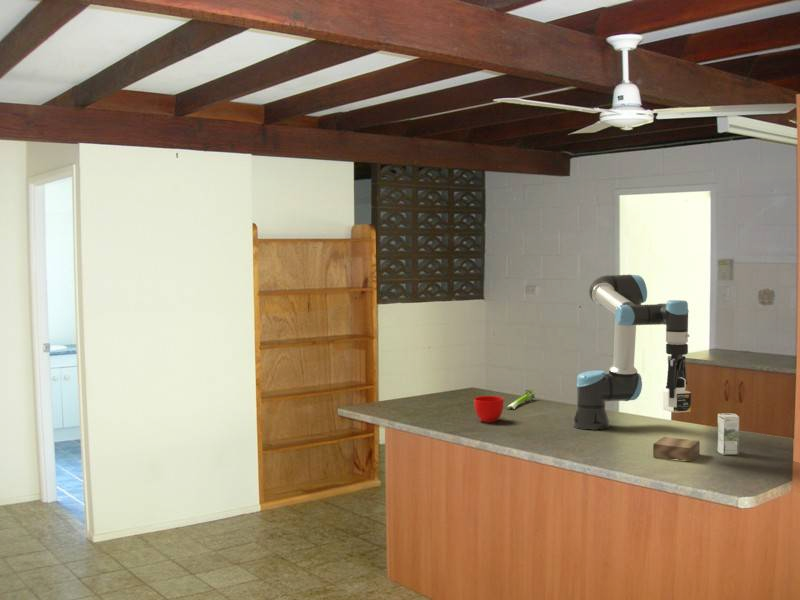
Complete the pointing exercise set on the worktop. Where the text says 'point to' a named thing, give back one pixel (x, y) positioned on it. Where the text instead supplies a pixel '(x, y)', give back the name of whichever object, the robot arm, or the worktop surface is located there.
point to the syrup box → (728, 434)
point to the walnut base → (676, 448)
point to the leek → (522, 399)
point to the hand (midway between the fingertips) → (676, 404)
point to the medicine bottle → (678, 398)
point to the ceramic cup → (488, 408)
